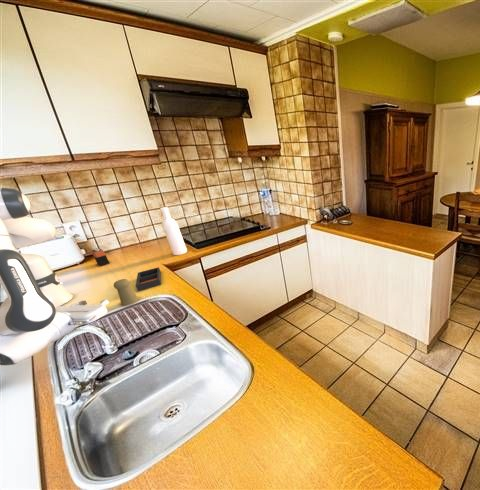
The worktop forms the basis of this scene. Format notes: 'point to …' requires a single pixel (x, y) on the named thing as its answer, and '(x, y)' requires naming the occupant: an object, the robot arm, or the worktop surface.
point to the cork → (125, 292)
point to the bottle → (173, 233)
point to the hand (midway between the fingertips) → (95, 301)
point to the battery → (100, 256)
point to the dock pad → (148, 279)
